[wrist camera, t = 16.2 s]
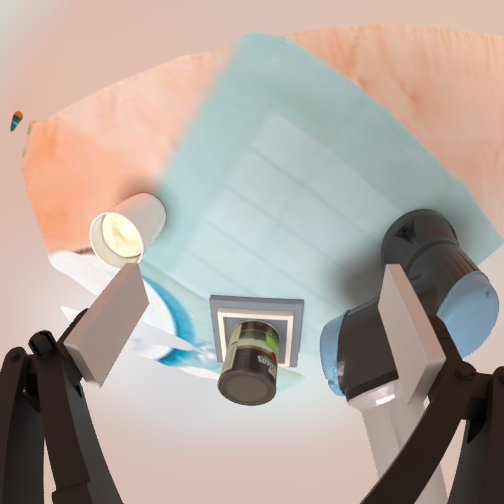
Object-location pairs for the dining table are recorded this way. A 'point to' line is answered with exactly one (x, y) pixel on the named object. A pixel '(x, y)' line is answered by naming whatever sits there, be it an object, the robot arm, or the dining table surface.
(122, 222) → the candle holder
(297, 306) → the grey square tray
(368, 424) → the robot arm
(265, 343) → the coffee can
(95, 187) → the dining table surface
